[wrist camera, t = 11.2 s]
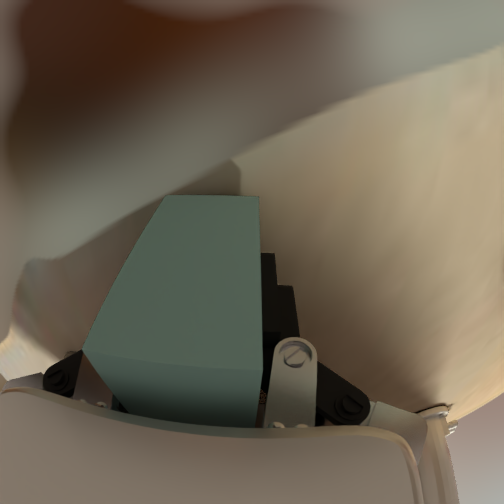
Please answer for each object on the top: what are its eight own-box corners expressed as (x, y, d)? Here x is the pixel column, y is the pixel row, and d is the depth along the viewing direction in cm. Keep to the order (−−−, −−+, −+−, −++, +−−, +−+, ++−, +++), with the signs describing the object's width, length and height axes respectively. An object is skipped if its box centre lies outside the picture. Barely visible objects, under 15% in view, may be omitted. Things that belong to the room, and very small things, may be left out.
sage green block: (258, 196, 10) (263, 369, 5) (247, 408, 21) (245, 484, 15) (165, 195, 10) (81, 349, 4) (205, 406, 21) (198, 481, 15)
